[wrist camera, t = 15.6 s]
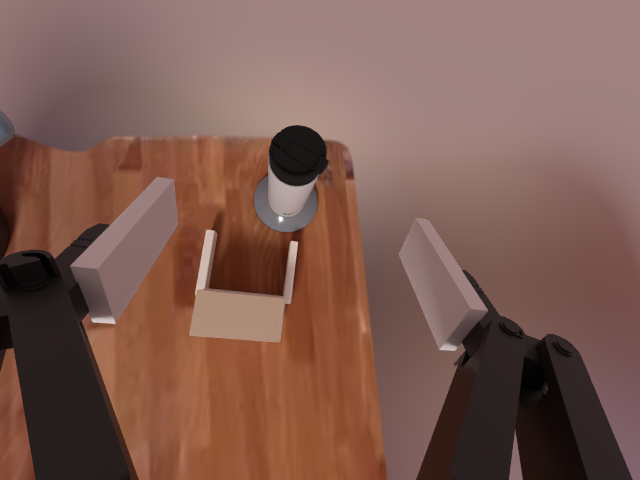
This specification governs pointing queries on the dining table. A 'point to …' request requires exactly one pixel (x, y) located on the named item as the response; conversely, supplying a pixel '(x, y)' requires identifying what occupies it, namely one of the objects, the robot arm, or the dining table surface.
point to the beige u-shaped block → (238, 304)
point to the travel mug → (294, 168)
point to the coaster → (280, 222)
